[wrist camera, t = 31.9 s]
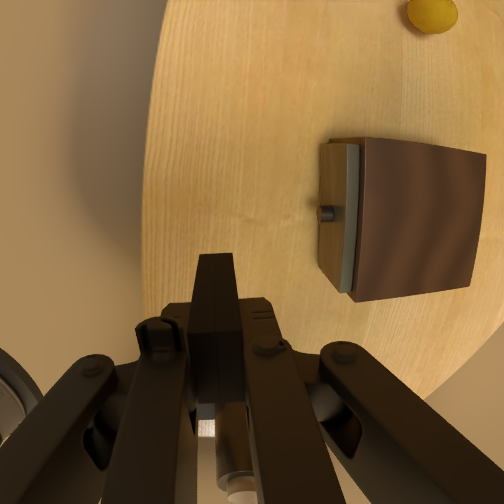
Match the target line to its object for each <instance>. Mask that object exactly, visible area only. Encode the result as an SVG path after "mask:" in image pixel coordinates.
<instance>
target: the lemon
mask: <svg viewBox="0 0 504 504" xmlns="http://www.w3.org/2000/svg"><path fill="white" fill-rule="evenodd" d="M407 14H408V17H409V19H410V21H411V23H412V24H413V25H414V26H415V27H416V28H417V29H419V30H421V31H423V32H425V33H428V34H440V33H443V32H446V31H448V30H449V29H451V28H452V27H453V26H454V25H455V23H456V22H457V18H458V11H457V8H456V5H455V4H454V2H453V1H452V0H410V1H409V2H408V5H407Z"/></svg>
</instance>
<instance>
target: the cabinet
mask: <svg viewBox="0 0 504 504" xmlns="http://www.w3.org/2000/svg"><path fill="white" fill-rule="evenodd" d="M337 143H350V144H359V145H360V153H361V165H360V198H359V218H358V233H357V247H356V258H355V269H354V271H353V279H352V289H351V292H347V294H348V295H349V296H350V298H351V299H352V300H353V301H354V302H355V303H356V302H365V301H373V300H381V299H389V298H397V297H404V296H411V295H418V294H425V293H432V292H438V291H445V290H451V289H457V288H463V287H469V286H470V282H471V278H472V273H473V268H474V263H475V258H476V253H477V247H478V241H479V235H480V228H481V220H482V212H483V203H484V192H485V178H486V154H481V153H476V152H471V151H466V150H461V149H455V148H449V147H443V146H437V145H431V144H424V143H417V142H409V141H401V140H392V139H383V138H373V137H352V138H335V139H329V144H337Z"/></svg>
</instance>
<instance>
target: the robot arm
mask: <svg viewBox="0 0 504 504" xmlns="http://www.w3.org/2000/svg"><path fill="white" fill-rule="evenodd" d="M135 331H136V336H137V340H138V344H139V349H140V353H141V355H140V357H139V360H137V361H135V362H131V363H128V364H123V365H117V366H115V365H114V362H113V361H112V359H110V357H108V356H105V355H101V354H92V355H87V356H85V357H82V358H80V359H79V360H77V361H76V362H75V363H74V364H73V365H72V366H71V367H70V368H69V369H68V370H67V371H66V372H65V373H64V375H63V376H62V377H61V378H60V379H59V380H58V381H57V382H56V383H55V384H54V386H53V387H52V388H51V389H50V390H49V391H48V393H46V395H45V396H44V397H43V398H42V399H41V400H40V401H39V402H38V404H37V405H36V406H35V407H34V408H33V409H32V410H31V412H30V413H29V414H28V415H27V410H26V406H25V404H24V402H23V400H22V398H21V397H20V395H19V394H18V392H17V391H16V390H15V388H14V387H13V386H12V385H11V384H10V383H9V382H8V381H7V380H6V379H5V378H4V377H3V376H2V375H1V374H0V445H1V443H2V442H3V440H4V439H5V438H6V437H7V436H9V435H10V434H11V433H12V432H13V433H12V434H11V435H10V436H9V437H8V439H7V440H6V441H5V442H4V443H3V445H2V446H1V447H0V504H98V503H99V501H100V499H101V497H102V499H101V504H197V450H198V449H197V448H198V412H197V407H196V401H197V400H198V404H213V403H233V402H246V419H247V429H248V432H249V440H250V448H251V456H252V464H253V471H254V479H255V486H256V494H257V501H258V504H346V502H345V499H344V496H343V493H342V490H341V487H340V484H339V481H338V478H337V475H336V473H335V470H334V467H333V464H332V461H331V458H330V455H329V452H328V450H327V447H326V444H327V445H328V447H329V448H330V449H331V451H332V452H333V453H334V455H335V456H336V457H337V459H338V460H339V462H340V463H341V464H342V466H343V467H344V468H345V470H346V471H347V472H348V474H349V475H350V476H351V478H352V479H353V480H354V482H355V483H356V484H357V486H358V487H359V488H360V489H361V491H362V492H363V493H364V495H365V496H366V497H367V499H368V500H369V501H370V502H371V504H504V471H503V470H502V469H501V468H499V467H498V466H497V465H496V464H495V463H494V462H493V461H492V460H490V459H489V458H488V457H487V456H486V455H484V453H482V452H481V451H480V450H479V449H478V448H477V447H476V446H475V445H473V444H472V443H471V442H470V441H469V440H468V439H466V438H465V437H464V436H463V435H462V434H460V432H458V431H457V430H456V429H455V428H454V427H453V426H451V424H449V423H448V422H447V421H446V420H445V419H444V418H443V417H441V416H440V415H439V414H438V413H437V412H436V411H434V410H433V409H432V408H431V407H430V406H429V405H428V404H427V403H426V402H424V401H423V400H422V399H421V398H420V397H419V396H418V395H416V394H415V393H414V392H413V391H412V390H411V389H410V388H408V387H407V386H406V385H405V384H404V383H403V382H402V381H400V380H399V379H398V378H397V377H396V376H395V375H394V374H392V373H391V372H390V371H389V370H388V369H387V368H386V367H384V366H383V365H382V364H381V363H380V362H379V361H378V360H376V359H375V358H374V357H373V356H372V355H371V354H370V353H368V352H367V351H366V350H365V349H364V348H362V347H361V346H359V345H358V344H355V343H352V342H346V341H337V342H331V343H329V344H327V345H325V346H324V347H323V348H322V349H321V352H320V355H317V354H307V353H301V352H298V351H295V350H293V349H292V347H291V345H290V344H289V343H288V341H286V340H285V339H283V338H282V335H281V332H280V329H279V326H278V323H277V320H276V317H275V314H274V311H273V308H272V305H271V303H270V302H269V301H267V300H266V299H265V298H264V297H261V298H245V299H238V293H237V285H236V278H235V270H234V262H233V254H232V253H216V254H199V260H198V265H197V271H196V277H195V283H194V289H193V295H192V301H191V302H185V303H169V304H168V305H167V306H166V307H165V308H164V309H163V310H162V313H161V316H159V317H152V318H149V319H146V320H144V321H143V322H141V323H139V324H138V325H137V327H136V328H135ZM325 442H326V444H325Z"/></svg>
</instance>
